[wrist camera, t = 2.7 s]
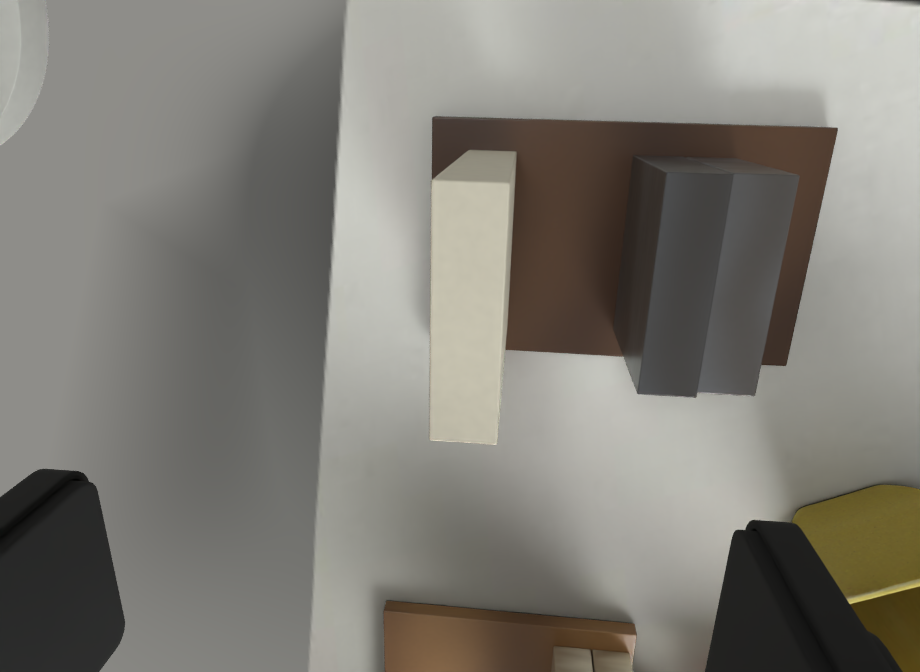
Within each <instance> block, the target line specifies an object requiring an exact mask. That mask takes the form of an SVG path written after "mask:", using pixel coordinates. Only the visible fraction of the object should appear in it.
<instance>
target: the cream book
mask: <svg viewBox="0 0 920 672" xmlns="http://www.w3.org/2000/svg"><path fill="white" fill-rule="evenodd" d="M516 156H517V152H516V151H489V150H468V151H467V152H466V153H464V154H463V155H462V156H461V157H459V158H458V159H457V160H456V161H455V162H453V163H452V164H451V165H450V166H448V167H447V168H446V169H445V170H443V171H442V172H441V173H440V174H438V175H437V176H436V177H435V178H434V179H432V181H431V262H430V387H429V439H430V440H434V441H448V442H462V443H476V444H490V445H496V444H497V439H498V427H499V416H500V405H501V393H502V382H503V371H504V359H505V348H506V336H507V325H508V307H509V288H510V269H511V250H512V232H513V213H514V194H515V175H516Z"/></svg>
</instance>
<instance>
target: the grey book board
mask: <svg viewBox="0 0 920 672" xmlns="http://www.w3.org/2000/svg"><path fill="white" fill-rule="evenodd" d="M837 131H838V128H833V127H805V126H769V125H733V124H696V123H660V122H624V121H588V120H552V119H516V118H480V117H443V116H435V117H433V118H432V179H434V178H435V177H436V176H437V175H438V174H440V173H441V172H442V171H443V170H445V169H446V168H447V167H448V166H450V165H451V164H452V163H453V162H455V161H456V160H457V159H458V158H459V157H461V156H462V155H463V154H464V153H466V152H467V151H468V150H489V151H516V152H517V156H516V175H515V194H514V213H513V232H512V250H511V269H510V288H509V307H508V325H507V336H506V348H505V350H520V351H537V352H554V353H572V354H589V355H606V356H623V357H624V360H625V362H626V365H627V367H628V370H629V373H630V375H631V378H632V381H633V383H634V386H635V389H636V391H637V394H644V395H660V396H676V397H691V398H696V396H697V393H708V394H724V395H740V396H755V393H756V388H757V383H758V378H759V373H760V368H761V365H777V366H786V364H787V359H788V355H789V350H790V345H791V341H792V336H793V332H794V327H795V323H796V318H797V314H798V309H799V304H800V300H801V295H802V291H803V286H804V282H805V277H806V272H807V268H808V263H809V259H810V254H811V250H812V245H813V240H814V236H815V231H816V227H817V222H818V218H819V213H820V208H821V204H822V199H823V195H824V190H825V186H826V181H827V177H828V172H829V167H830V163H831V158H832V154H833V149H834V145H835V140H836V135H837Z"/></svg>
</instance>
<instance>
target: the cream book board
mask: <svg viewBox="0 0 920 672" xmlns="http://www.w3.org/2000/svg"><path fill="white" fill-rule="evenodd" d="M383 614H384V659H385V672H633V669H632V663H633V657H634V650H635V644H636V637H637V633H636V628H635V624H633V623H622V622H611V621H601V620H590V619H579V618H568V617H558V616H547V615H536V614H525V613H515V612H504V611H493V610H482V609H472V608H461V607H450V606H439V605H429V604H418V603H407V602H396V601H386V604H385V607H384V611H383Z"/></svg>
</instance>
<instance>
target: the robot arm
mask: <svg viewBox="0 0 920 672" xmlns="http://www.w3.org/2000/svg"><path fill="white" fill-rule="evenodd" d="M124 627H125V619H124V615H123V610H122V605H121V600H120V596H119V591H118V586H117V581H116V576H115V571H114V567H113V562H112V558H111V552H110V548H109V543H108V538H107V534H106V529H105V524H104V519H103V514H102V510H101V505H100V500H99V496H98V491H97V488H96V486H95V485H94V484H93V483H91V482H89V481H88V478H87V477H86V476H85V474H84V473H81V472H79V471H68V470H54V469H40V470H37V471H35V472H33V473H32V474H31V475H29V476H28V477H27V478H25V479H24V480H23V481H21V482H20V483H18V484H17V485H16V486H14V487H13V488H12V489H10V490H9V491H8V492H7V493H5V494H4V495H3V496H1V497H0V672H99V671H100V670H101V668H102V667H103V666H104V664H105V663H106V662H107V660H108V659H109V658H110V656H111V655H112V654H113V652H114V651H115V650H116V648H117V647H118V645H119V644H120V641H121V639H122V636H123V633H124ZM705 672H903V671H902V670H901V668H900V667H899V665H898V664H897V662H896V661H895V659H894V658H893V656H892V655H891V653H890V652H889V650H888V649H887V647H886V646H885V645H884V644H883V643H882V641H881V640H880V639H879V638H878V637H877V636H876V635H874V634H873V633H871V632H869V631H867V630H866V628H865V627H864V625H863V624H862V622H861V621H860V619H859V617H858V616H857V614H856V613H855V611H854V610H853V608H852V607H851V605H850V604H849V602H848V600H847V599H846V597H845V596H844V594H843V593H842V591H841V590H840V588H839V587H838V585H837V583H836V582H835V580H834V579H833V577H832V576H831V574H830V573H829V571H828V569H827V568H826V566H825V565H824V563H823V562H822V560H821V559H820V557H819V556H818V554H817V552H816V551H815V549H814V548H813V546H812V545H811V543H810V542H809V540H808V539H807V537H806V535H805V534H804V532H803V531H802V529H801V528H800V527H799V526H798V525H797V524H795V523H787V522H773V521H760V520H752V521H750V522H749V523H748V525H747V527H746V530H736V531H735V532H734V534H733V537H732V541H731V546H730V551H729V556H728V560H727V565H726V570H725V575H724V580H723V585H722V590H721V595H720V600H719V605H718V610H717V615H716V620H715V625H714V630H713V635H712V640H711V645H710V650H709V655H708V660H707V665H706V669H705Z"/></svg>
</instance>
